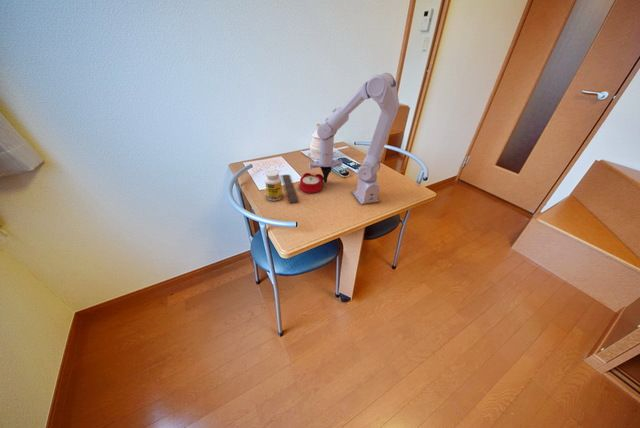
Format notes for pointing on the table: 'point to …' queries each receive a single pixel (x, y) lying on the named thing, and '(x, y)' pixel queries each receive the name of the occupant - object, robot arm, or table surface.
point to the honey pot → (315, 144)
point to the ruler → (289, 189)
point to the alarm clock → (311, 183)
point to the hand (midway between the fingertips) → (325, 181)
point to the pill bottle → (273, 186)
